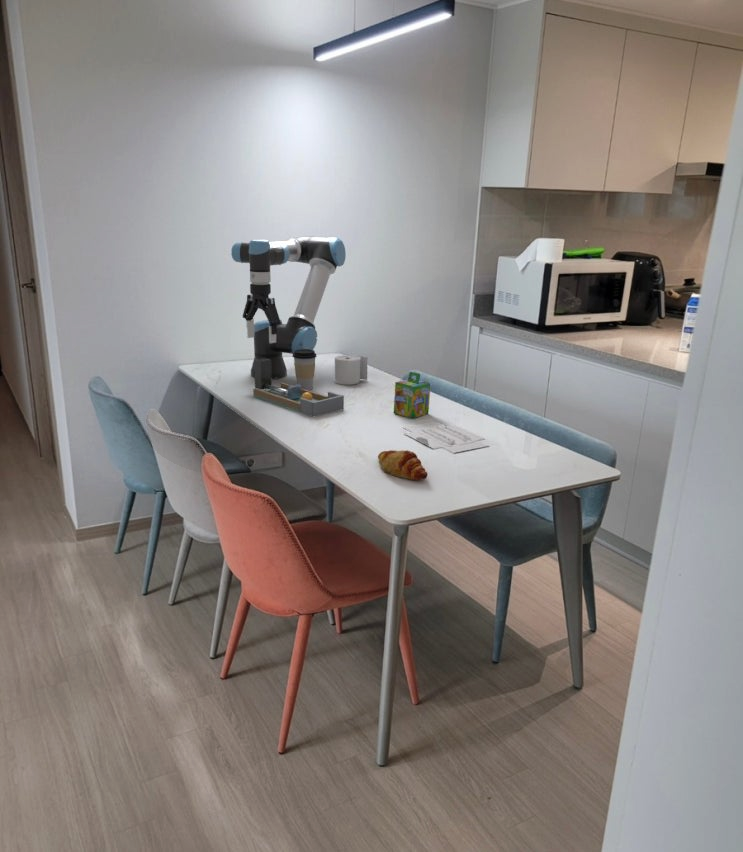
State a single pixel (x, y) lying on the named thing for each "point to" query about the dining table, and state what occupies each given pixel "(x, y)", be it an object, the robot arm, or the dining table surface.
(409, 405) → the chalk box
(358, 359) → the toilet tissue
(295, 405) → the lane
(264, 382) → the striker rod
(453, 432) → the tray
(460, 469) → the dining table surface
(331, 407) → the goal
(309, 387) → the coffee cup
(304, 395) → the ball
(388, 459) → the croissant
